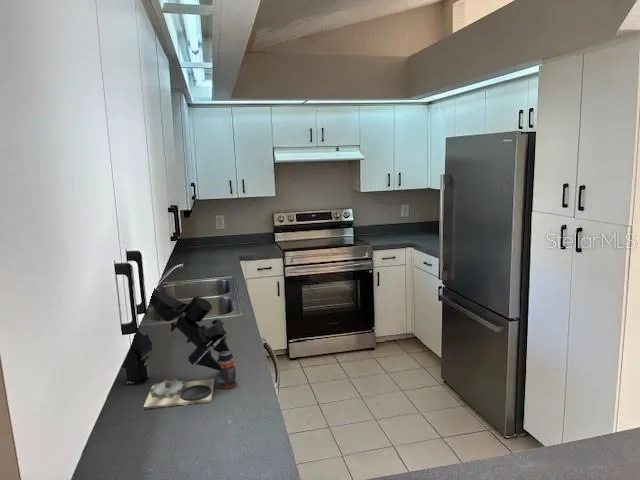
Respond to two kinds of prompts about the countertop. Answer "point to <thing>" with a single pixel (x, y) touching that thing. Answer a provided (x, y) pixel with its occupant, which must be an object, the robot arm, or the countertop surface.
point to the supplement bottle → (226, 370)
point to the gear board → (180, 393)
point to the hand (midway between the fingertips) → (226, 363)
